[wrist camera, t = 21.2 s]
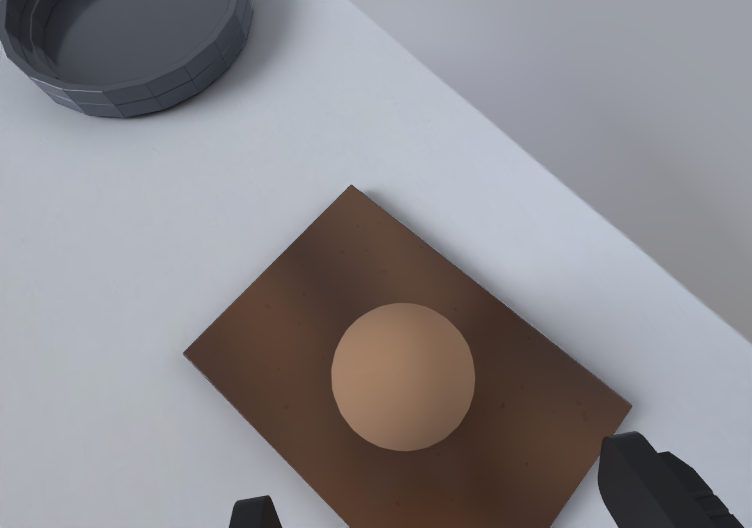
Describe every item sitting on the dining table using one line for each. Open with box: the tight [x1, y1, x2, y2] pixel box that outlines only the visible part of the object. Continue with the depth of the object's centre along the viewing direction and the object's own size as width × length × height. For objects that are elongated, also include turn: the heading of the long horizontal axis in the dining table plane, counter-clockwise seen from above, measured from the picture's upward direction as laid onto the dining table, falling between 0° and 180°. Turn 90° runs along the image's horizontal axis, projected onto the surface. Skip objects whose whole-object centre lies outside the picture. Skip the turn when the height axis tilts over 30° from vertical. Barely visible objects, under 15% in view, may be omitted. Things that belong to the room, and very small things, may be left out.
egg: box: [331, 303, 475, 451], centre depth 20 cm, size 6×6×8 cm
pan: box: [0, 0, 253, 118], centre depth 33 cm, size 17×17×3 cm
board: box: [183, 185, 632, 528], centre depth 25 cm, size 14×20×1 cm
